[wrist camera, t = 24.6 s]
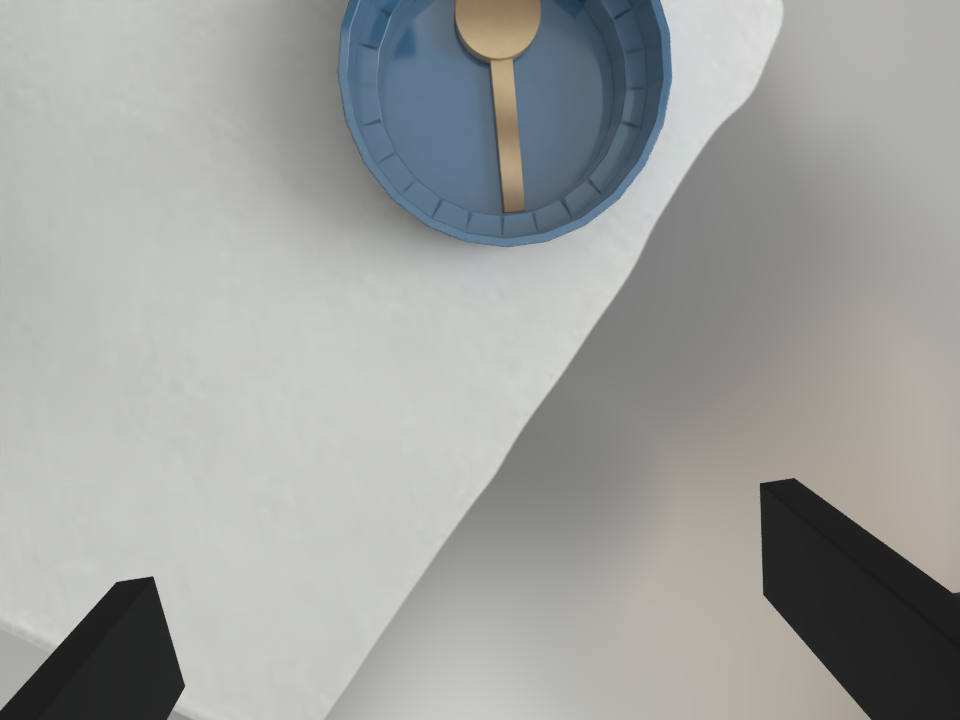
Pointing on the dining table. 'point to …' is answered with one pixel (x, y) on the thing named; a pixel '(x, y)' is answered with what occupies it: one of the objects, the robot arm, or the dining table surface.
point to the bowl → (540, 110)
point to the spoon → (501, 74)
